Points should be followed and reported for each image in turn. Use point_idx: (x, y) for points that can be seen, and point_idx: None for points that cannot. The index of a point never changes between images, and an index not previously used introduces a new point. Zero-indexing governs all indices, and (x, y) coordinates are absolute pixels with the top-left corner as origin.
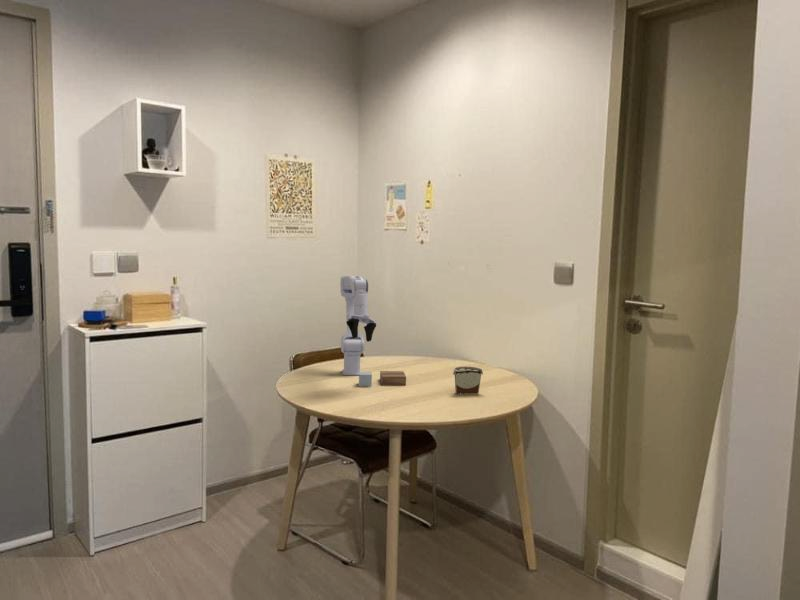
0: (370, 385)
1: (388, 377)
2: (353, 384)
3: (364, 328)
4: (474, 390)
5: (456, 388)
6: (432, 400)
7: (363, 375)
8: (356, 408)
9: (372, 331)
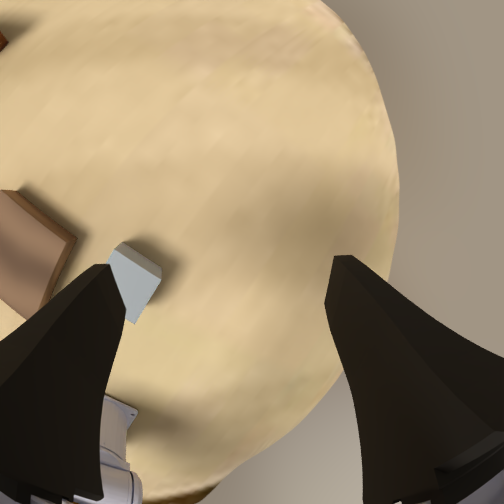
0: (125, 244)
1: (48, 227)
2: (165, 302)
3: (98, 474)
4: None
5: (2, 34)
6: (97, 14)
7: (146, 269)
8: (324, 77)
9: (26, 333)
